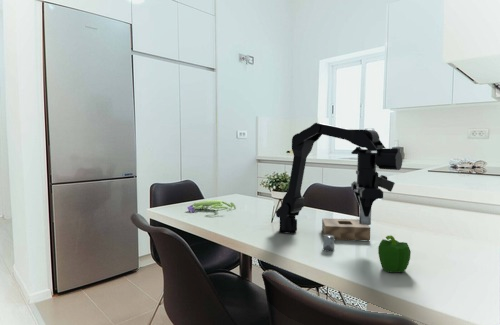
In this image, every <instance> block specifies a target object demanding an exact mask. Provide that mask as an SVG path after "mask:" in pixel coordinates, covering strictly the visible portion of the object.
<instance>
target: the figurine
mask: <svg viewBox="0 0 500 325" xmlns="http://www.w3.org/2000/svg"><path fill="white" fill-rule="evenodd" d="M229 203H230V204H229ZM229 203H228V202H226V201H224V200H218V199H215V200H214V199H211V200H209V199H208V200H202V201H198V202H193V204H191V205H189V206H187V210H188V212H189V213H196V210H200V209H201V210H204V209H205V207H206V208H208V209H211V210H212V209H213V210H219V209H225V210H229V208H233V209H234V210H236V209H237V207H236V205H235V204H234V202H232V201H230V202H229ZM224 205H226V206H224ZM195 209H196V210H195Z"/></svg>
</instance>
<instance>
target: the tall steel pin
mask: <svg viewBox="0 0 500 325" xmlns="http://www.w3.org/2000/svg"><path fill="white" fill-rule="evenodd" d="M358 219H359V224H362V225H369V226H370V225H372V209H371V210H370V213H369V216H368V217H365V216H364V213H363V210H362V207H361V204H360V207H359V218H358Z"/></svg>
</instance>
